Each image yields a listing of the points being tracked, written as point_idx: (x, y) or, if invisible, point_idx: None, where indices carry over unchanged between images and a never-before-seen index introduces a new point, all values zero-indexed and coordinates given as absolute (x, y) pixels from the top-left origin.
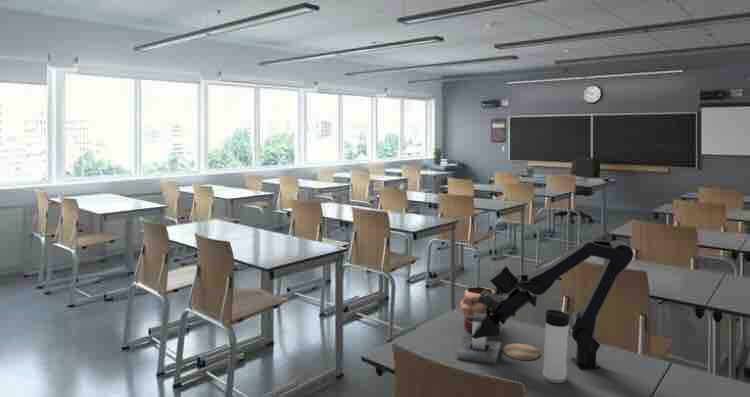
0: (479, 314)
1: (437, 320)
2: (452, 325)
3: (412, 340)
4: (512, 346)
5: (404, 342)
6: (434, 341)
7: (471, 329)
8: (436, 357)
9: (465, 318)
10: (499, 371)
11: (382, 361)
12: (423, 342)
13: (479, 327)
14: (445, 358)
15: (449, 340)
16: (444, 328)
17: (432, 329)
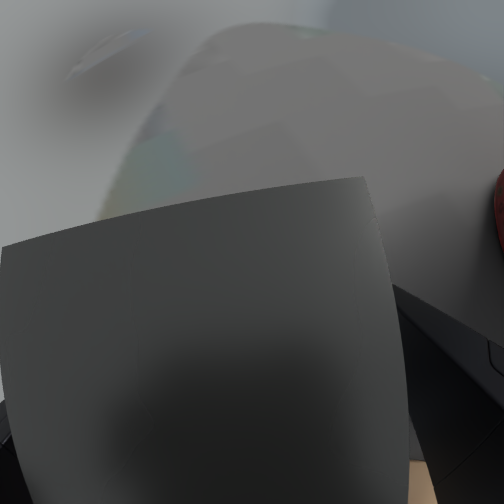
0: (242, 404)
1: (474, 74)
2: (487, 123)
3: (252, 44)
4: (415, 491)
5: (221, 37)
6: (290, 96)
7: (499, 209)
8: (121, 170)
9: None
10: None
11: (71, 74)
12: (254, 71)
13: (3, 411)
14: (122, 207)
15: (345, 144)
16: (443, 100)
17: (400, 66)
